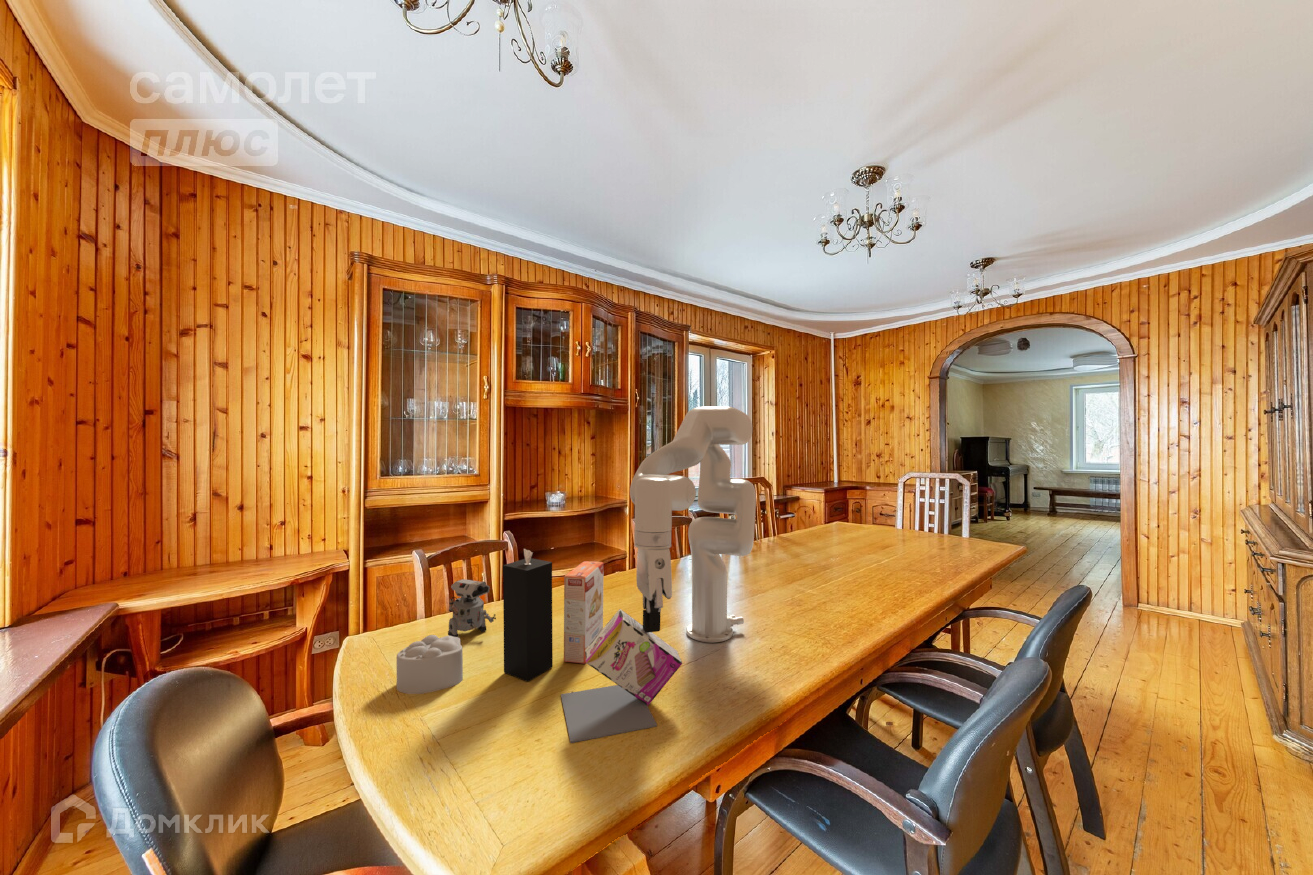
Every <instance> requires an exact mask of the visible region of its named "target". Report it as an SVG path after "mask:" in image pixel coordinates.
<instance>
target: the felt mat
mask: <svg viewBox="0 0 1313 875" xmlns="http://www.w3.org/2000/svg"><path fill="white" fill-rule="evenodd" d="M560 697H561V703H562V709H563V713H564V716H565V717H564V718H565V723H566V727H567V732H568V737H569V742H570V744H574V743H579V742H584V741H588V740H594V739H599V738H604V737H608V736H615V735H619V734H624V733H629V732H635V731H640V730H646V729H650V728H654V727H658V724H657V722H656V720H655V718H654V716H653V714H652V713H651V710H650V709H649V707H648V706H649V705H646V704H645V703H643V702H642V701H640V700H639V699H637V698H636V697H635V696H633V695H632V694H630V693H629V692H627V691H626V690H625V689H623V688H621V687H620V686H619V685H617V684H615V685H609V686H602V687H598V688H597V687H596V688H589V689H585V690H579V691H573V692H566V693H562V694H561V693H560Z"/></svg>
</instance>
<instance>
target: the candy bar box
mask: <svg viewBox="0 0 1313 875" xmlns="http://www.w3.org/2000/svg"><path fill="white" fill-rule="evenodd" d="M585 654H586V663H585V664H587V665H589V667H591V668H593V669H594V670H595V671H597V672H598V673H599V674H601V675H603V676H604V677H605V678H607V679H609V680H610V682H613V683H614V684H615V685H619V686H620V687H621V688H623V689H625V690H626V691H627V692H629V693H630V694H632V695H633V696H635V697H636V698H637V699H639V700H640V701H642V702H643V703H645V704H646V705H647V706H650V704H651V703H652V702H653V700H654V699H655V698H656V697H657V696H658V694H659V693H660V692H661V691H662V689H663V688H664V687H665V686H666V685H667V683H668V682H669V681H670V679H671V678H672V677H673V676H674V674H675V673H676V672H677V671H678V669H679V668H680V667H681V666H682V665H683V661H682V659H681V657H680V655H679V652H678V650H677V649H676V648H674V647H672V646H671V645H670V644H668V643H667V642H666V641H664V640H663V639H662V638H661V637H659V636H658V635H656V634H655V632H648V633H646V632H645V631H644V630H643V624H641V623H640V622H639V621H637V620H636V619H635V618H633V617H632V616H630V614H628V613H627V612H625V611H624V610H623V609H622V608H619V609H618V610H617V611H616V613H615V614H614V615H613V616H612V617H611V618H610V620H609V621H608V622H607V623H606V624H605V626H603V629H602V631H601V632H600V633H599V634H598V635H597V637H596V638H595V639H594V640H593V641H592V643H591V644H590V645H589V646H588V647H587V649H586V650H585Z"/></svg>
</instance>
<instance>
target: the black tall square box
mask: <svg viewBox="0 0 1313 875" xmlns="http://www.w3.org/2000/svg"><path fill="white" fill-rule="evenodd" d="M533 553H534V552H533V551H531V550H529V549H526V548H523V556H524V559H523V558H522V559H519V560H516V561H512V562H510V563H506V564H503V565H502V575H503V576H502V581H503V582H502V584H503V585H502V586H503V587H502V588H503V593H502V594H503V595H502V598H503V601H502V602H503V603H502V604H503V609H502V610H503V612H502V613H503V672H504V674H507V675H509V676H512V677H515V678H517V679H519V680H523V681H524V682H525V681H526V682H529V681H532V680H533V679H535V678H537V677H538V676H541V675H542V674H544V673H545V672H547V671H549V670H550V669H552V668H553V665H554V664H553V661H554V660H553V658H554V656H553V562H552V561H549V560H542V559H538V558H533Z"/></svg>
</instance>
